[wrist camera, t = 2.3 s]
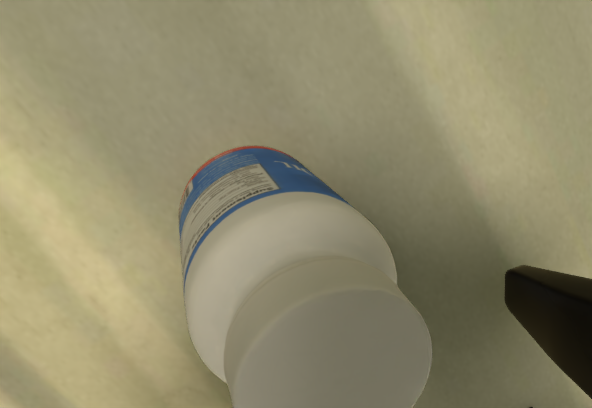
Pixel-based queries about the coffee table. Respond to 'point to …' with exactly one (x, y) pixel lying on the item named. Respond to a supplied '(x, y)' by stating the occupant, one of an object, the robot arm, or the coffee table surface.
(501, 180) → the coffee table surface
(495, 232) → the coffee table surface
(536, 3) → the coffee table surface
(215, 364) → the pill bottle
